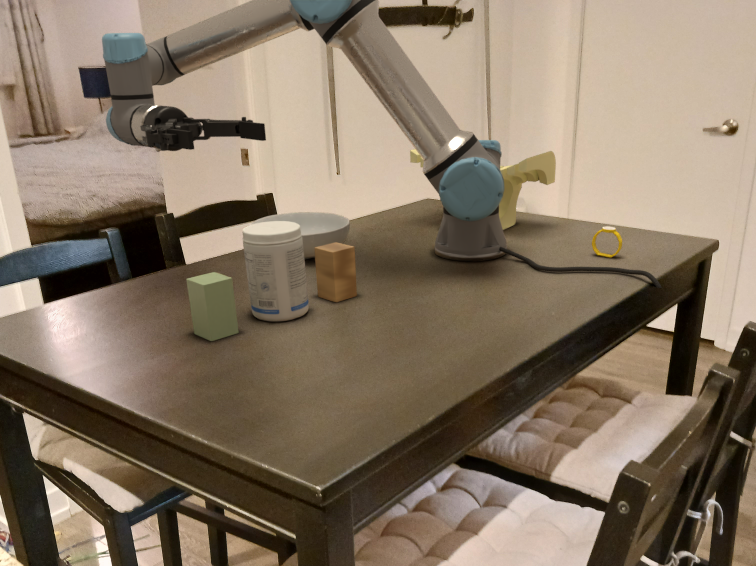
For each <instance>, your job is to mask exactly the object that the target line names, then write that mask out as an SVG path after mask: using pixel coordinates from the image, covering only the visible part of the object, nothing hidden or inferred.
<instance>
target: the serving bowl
mask: <svg viewBox="0 0 756 566" xmlns="http://www.w3.org/2000/svg"><path fill="white" fill-rule="evenodd" d="M269 221H288V222H294V223H297V224H299V225H300V230H301V234H302V240H303V250H304V260H310V259H315V249H314V248H315V247H318V246H323V245H327V244H331V243H335V242H337V243H341V244H345V242H346V240H347V239H348V236H349V233H350V225H351V222H350V219H349V218H348V217H346V216H344V215H342V214H337V213H332V212H322V211H297V212H284V213H278V214H272V215H267V216H264V217H261V218H258V219H256V220H254V221H253V222H251V224H250V225H252V224H256V223H261V222H269Z"/></svg>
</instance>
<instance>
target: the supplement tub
mask: <svg viewBox="0 0 756 566" xmlns="http://www.w3.org/2000/svg"><path fill="white" fill-rule="evenodd" d="M251 224H252V223H251ZM251 224H248V225H246V226H245V227H243V228H242V230H241V231H242V246H243V254H244V262H245V271H246V277H247V287H248V293H249V299H250V301H249V302H250V307H251V313H252V315H253V316H254V318H257V319H258V320H261V321H265V322H275V323H276V322H286V321H291V320H295V319H298V318H300V317H302V316H304V315H306V313H307V312H308V311H309V308H310V303H309V293H308V280H307V273H306V272H307V269H306V261H305V260H306V259H304V250H303V240H302V234H301V230H300V225H299V224H297V223H294V222H288V221H269V222H261V223H256V224H252V225H251Z"/></svg>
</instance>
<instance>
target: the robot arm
mask: <svg viewBox="0 0 756 566" xmlns="http://www.w3.org/2000/svg"><path fill="white" fill-rule="evenodd" d="M379 8H380V1H379V0H249V1H247V2H244V3H243V4H240V5H237V6H235V7H232V8H230V9H227V10H225V11H223V12H220V13H218V14H215V15H213V16H211V17H209V18H206V19H203V20H202V21H201V20H200V21H199V22H197V23H194V24H192V25H189V26H187V27H184V28H181V29H180V30H178V31H175V32H172V33H171V34H167V35H166V36H163V37H160V38H158V39H155V40H154V41H151V42H148V43H146V39H145V36H144V34H142V33H141V32H110V33H109V32H107V33H105V34H103V36H102V37H101V44H102V59H103V61H104V65H105V71H106V76H107V81H108V87H109V92H110V93H109V94H110V101H111V107H109V109H108V111H107V113H106V119H105V124H106V127H107V130H108V132H109V134H110V135H111V136H112V137H113V138H114V139H116V140H117V141H118V142H120V143H124V144H126V145H130V146H131V147H132V146H134V147H135V146H137V147H144V148H152V149H155V151H156V152H157V153H160V152H167V151H168V152H178V151H180V150H188V151H191V150H195V144H194V143H195V141H207V140H210V139H211V138H231V137H232V138H233V137H234V138H236V137H238V138H240V139H244V140H245V139H246V140H252V141H261V142H265V141H267V137H266V123H264V122H254V120H253V119H247V117H246V116H242V117H241V119H213V118H212V119H211V118H194V117H188V115H187V114H186V113H185V112H184V111H183V110H182V109H180V108H178V107H175V106H171V105H163V104H162V105H161V104H155V96H154V89H153V86H165V85H168V84H170V83H172V82H174V81H175V80H176V79H178V78H181V77H183V76H185V75H188V74H190V73H192V72H195V71H198V70H200V69H203V68H205V67H207V66H210V65H212V64H215V63H217V62H220V61H223V60H225V59H227V58H228V59H229V58H230V57H233V56H235V55H238V54H239V53H243V52H245V51H247V50H249V49H252V48H255V47H257V46H260V45H263V44H265V43H267V42H270V41H273V40H275V39H277V38H280V37H282V36H286V35H287V34H289V33H292V32H295V31H297V30H299V29H300V30H301V29H302V30H304V31H306V32H311V31H313V30H315V32H316V33H317V34H318V36H319V37H320V38H321V40H322V41H323V43H325V44H326V46H327V47H328V48H336V49H338V50H341V52H342V53H343V54H344V55H345V57H346V58H347V60H348V61H349V62H350V64H351V65H352V67H353V68H354V69H355V71H356V72H357V73H358V75H360V77H361V79H362V80H363V81H364V83H366V85H367V86H368V87H369V89H370V90H371V92H372V93H373V94H374V95H375V98H377V100H378V101H379V103H380V104H381V105H382V107H383V108H384V109H385V111H386V112H387V113H388V114H389V116H390V117H391V119H392V120H393V121H394V122H395V124H396V125H397V126H398V128H399V130H401V133H403V135H404V136H405V137H406V139H407V140H408V141H409V142H410V144H411V145H412V147H413V149H416V150H417V152H418V153H419V154H420V156H421V157H422V158H423V161H424V163H423V168H422V171H421V172H422V174H424V176H425V178H426V179H427V181H428V182H429V183H430V185H431V186H432V187H433V188H434V190H435V191H436V193H437V194H438V196H439V200H440V202H441V205H442V219H441V222H440V224H439V228H438V230H437V231H438V232H437V233H436V234H437V235H436V238H435V240H434V254H435V255H436V256H438V257H440V258H443V259H446V260H450V261H452V260H453V261H458V262H459V261H461V262H482V261H490V260H494V259H498V258H499V259H500V258H501V257H503V256H505V255H509V256H512V257H514V258H516V259H518V260H521V261H523V262H525V263H527V264H528V265H530V266H531V267H532V268H533V269H536V270H539V271H544V272H550V273H565V272H567V273H569V272H596V273H597V272H600V273H601V272H603V273H619V274H625V275H633V276H644V277H646V278H647V279H648V280H650V281H651V282H652V284H653V285H654V287H655V288H657V289H662V285H661V283H660V282H659V280H658V279H657V278H656V277H655V276H654V275H653V274H652V273H650V272H649V271H646V270H643V269H642V270H641V269H627V268H622V267H621V268H620V267H614V266H613V267H610V266H563V267H562V266H561V267H559V266H558V267H557V266H545V265H540V264H537V262H535V261H533V260H532V259H531V258H529V257H527V256H525V255H522V254H519V253H518V252H515V251H512V250H510V249H508V244H507V239H506V236H505V232H504V230H503V229H502V225H501V222H500V218H499V204H500V201H501V199H502V197H503V193H504V179H503V176H502V174H501V171H500V166H501V159H502V151H501V150H502V148H501V147H502V146H501V142H500V141H498V140H497V139H478V138H477V136H476V135H475V134H474V132H473V131H468V130H462V129H461V128H460V127H459V126H458V124H457V123H456V122H455V120H454V119H453V117H452V116H451V114H450V113H449V112H448V111H447V109H446V108H445V106H444V104H443V103H442V102H441V101H440V99H439V98H438V96H436V93H435V92H434V91H433V90H432V88H431V86H429V84H428V83H427V81H426V80H425V79H424V77H423V76H422V74H421V73H420V71H419V70H418V69H417V67H416V66H415V65H414V63H413V62H412V60H411V59H410V58H409V56H408V55H407V53H406V52H405V51H404V49H403V48H402V46H400V44H399V42H398V41H397V40H396V38H395V37H394V36H393V34H392V32H390V30H389V28H388V27H387V26H386V24H385V23H384V22H383V20H382V19H381V17H380V15H379ZM202 133H203V135H202Z"/></svg>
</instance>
